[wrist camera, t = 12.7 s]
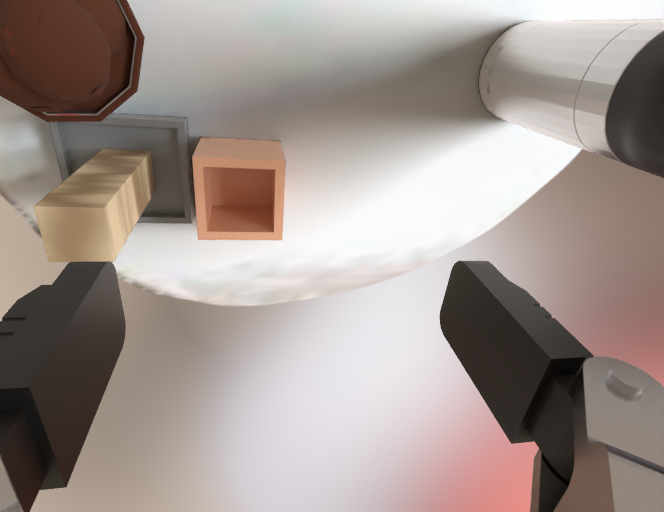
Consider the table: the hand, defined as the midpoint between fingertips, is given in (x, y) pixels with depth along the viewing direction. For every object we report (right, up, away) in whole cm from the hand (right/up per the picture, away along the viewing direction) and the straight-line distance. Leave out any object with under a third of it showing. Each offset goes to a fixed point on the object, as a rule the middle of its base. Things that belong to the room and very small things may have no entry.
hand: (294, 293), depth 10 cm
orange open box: (-8, +9, +32) cm, 34 cm away
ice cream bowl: (-19, +20, +24) cm, 36 cm away
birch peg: (-18, +9, +29) cm, 35 cm away
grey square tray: (-19, +10, +29) cm, 36 cm away
